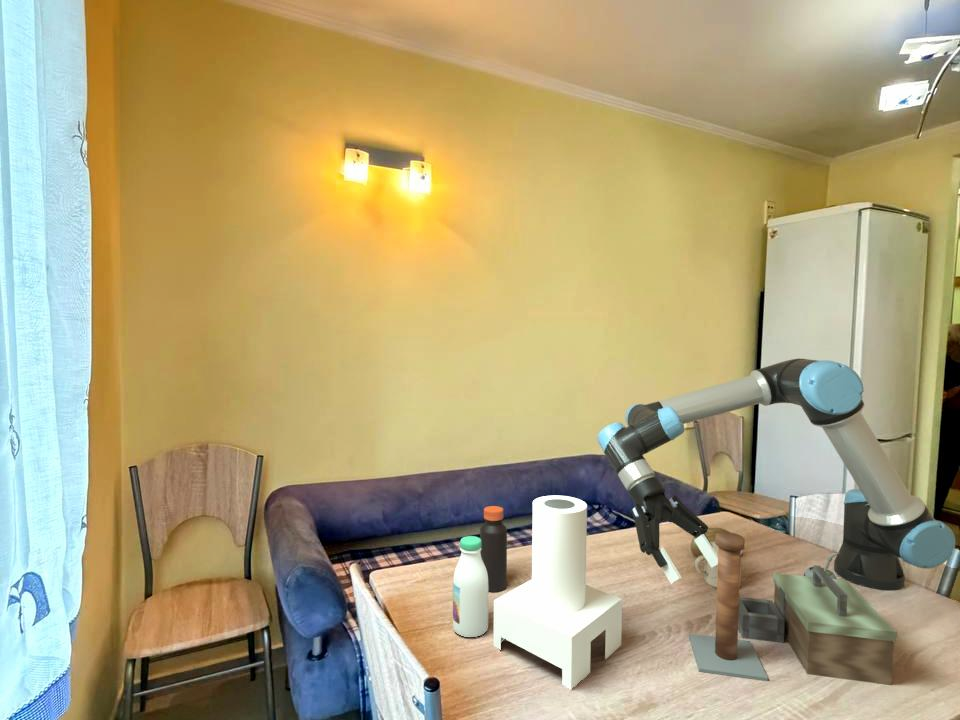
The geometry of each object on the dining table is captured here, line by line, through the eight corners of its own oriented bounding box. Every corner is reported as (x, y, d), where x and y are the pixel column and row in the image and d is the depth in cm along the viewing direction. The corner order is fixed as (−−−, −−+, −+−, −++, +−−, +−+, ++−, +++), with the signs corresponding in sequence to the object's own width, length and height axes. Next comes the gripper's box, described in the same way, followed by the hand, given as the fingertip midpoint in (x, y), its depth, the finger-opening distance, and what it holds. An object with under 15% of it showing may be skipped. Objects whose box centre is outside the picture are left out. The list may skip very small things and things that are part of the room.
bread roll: (750, 561, 150) (751, 533, 149) (702, 565, 147) (703, 537, 147) (728, 547, 159) (729, 521, 159) (683, 551, 157) (684, 524, 156)
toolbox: (843, 625, 117) (846, 561, 116) (894, 686, 97) (898, 609, 96) (730, 612, 122) (732, 551, 122) (756, 667, 102) (758, 595, 101)
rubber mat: (749, 643, 110) (749, 641, 110) (767, 681, 99) (767, 677, 98) (688, 636, 113) (688, 633, 113) (698, 671, 101) (699, 668, 101)
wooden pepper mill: (736, 648, 108) (740, 533, 106) (743, 664, 103) (747, 543, 101) (709, 644, 109) (713, 530, 107) (714, 660, 104) (718, 541, 102)
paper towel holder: (493, 647, 109) (494, 504, 107) (547, 612, 122) (548, 484, 121) (571, 690, 96) (573, 528, 94) (621, 645, 110) (624, 503, 108)
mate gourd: (807, 593, 131) (809, 534, 131) (844, 605, 126) (847, 543, 125) (798, 604, 126) (800, 542, 125) (837, 617, 121) (839, 553, 120)
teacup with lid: (728, 573, 142) (730, 531, 141) (749, 590, 133) (751, 545, 132) (686, 575, 141) (687, 533, 140) (704, 592, 132) (705, 547, 131)
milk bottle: (492, 623, 118) (493, 535, 116) (481, 642, 110) (481, 548, 109) (460, 616, 120) (460, 530, 119) (447, 635, 113) (447, 543, 112)
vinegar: (475, 589, 133) (476, 511, 131) (485, 578, 139) (486, 503, 138) (501, 595, 130) (501, 515, 129) (510, 582, 136) (510, 506, 135)
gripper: (667, 484, 131) (721, 566, 120) (594, 501, 118) (646, 595, 106) (686, 468, 127) (744, 551, 115) (612, 483, 113) (669, 580, 102)
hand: (697, 572), depth 111 cm, fingers open, 13 cm apart
